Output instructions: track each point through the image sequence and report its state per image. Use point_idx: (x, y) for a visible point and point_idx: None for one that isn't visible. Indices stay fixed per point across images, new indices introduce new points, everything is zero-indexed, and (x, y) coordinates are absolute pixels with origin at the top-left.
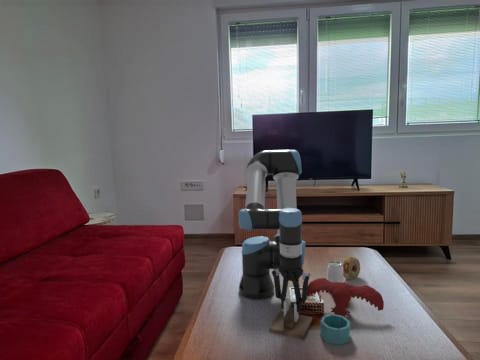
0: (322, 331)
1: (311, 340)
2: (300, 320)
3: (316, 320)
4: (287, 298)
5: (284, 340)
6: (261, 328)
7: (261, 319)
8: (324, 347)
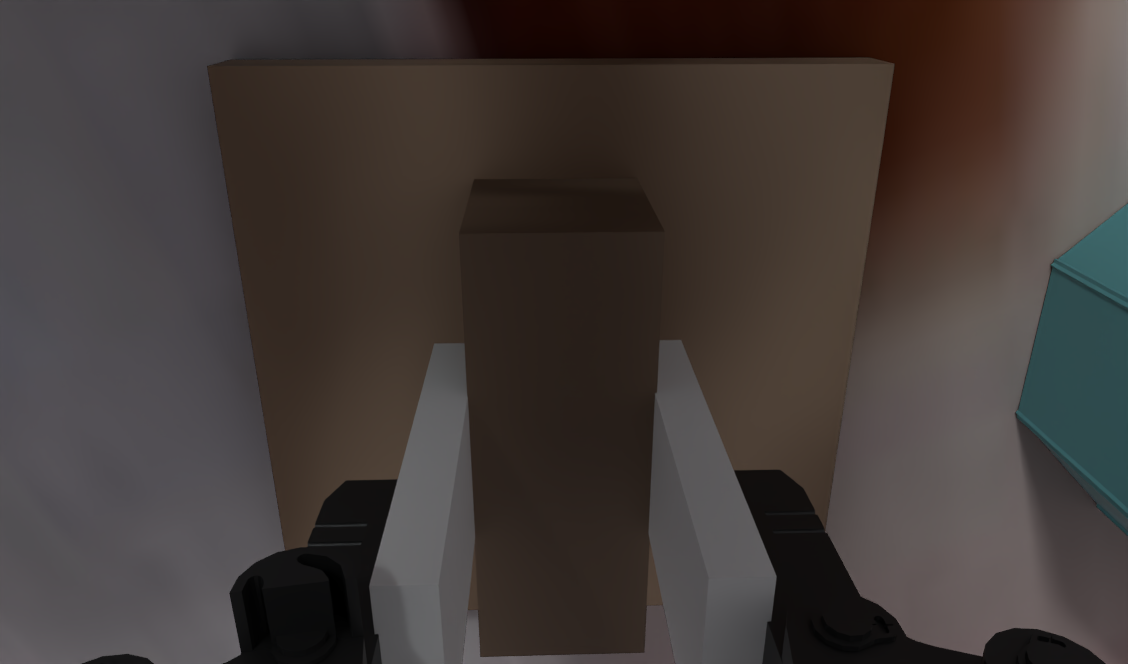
0: (1099, 495)
1: (895, 544)
2: (693, 257)
3: (945, 19)
4: (419, 590)
5: (567, 659)
6: (178, 565)
7: (37, 371)
8: (1058, 600)
